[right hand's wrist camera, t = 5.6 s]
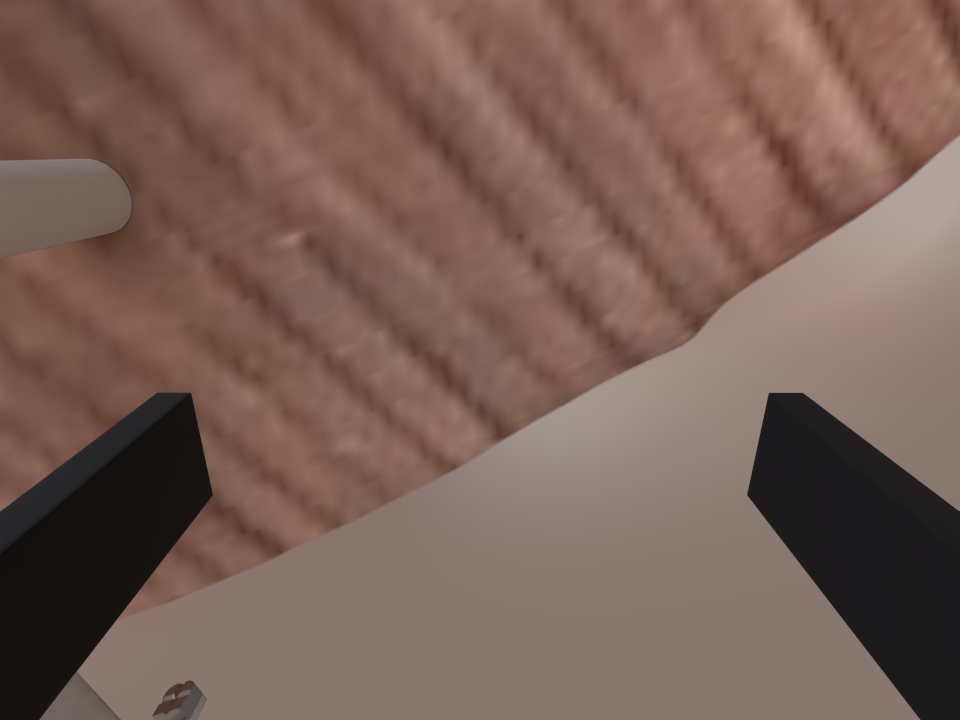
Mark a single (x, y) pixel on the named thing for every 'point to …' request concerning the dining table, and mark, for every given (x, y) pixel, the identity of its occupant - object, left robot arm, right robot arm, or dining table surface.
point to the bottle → (58, 203)
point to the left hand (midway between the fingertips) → (142, 633)
